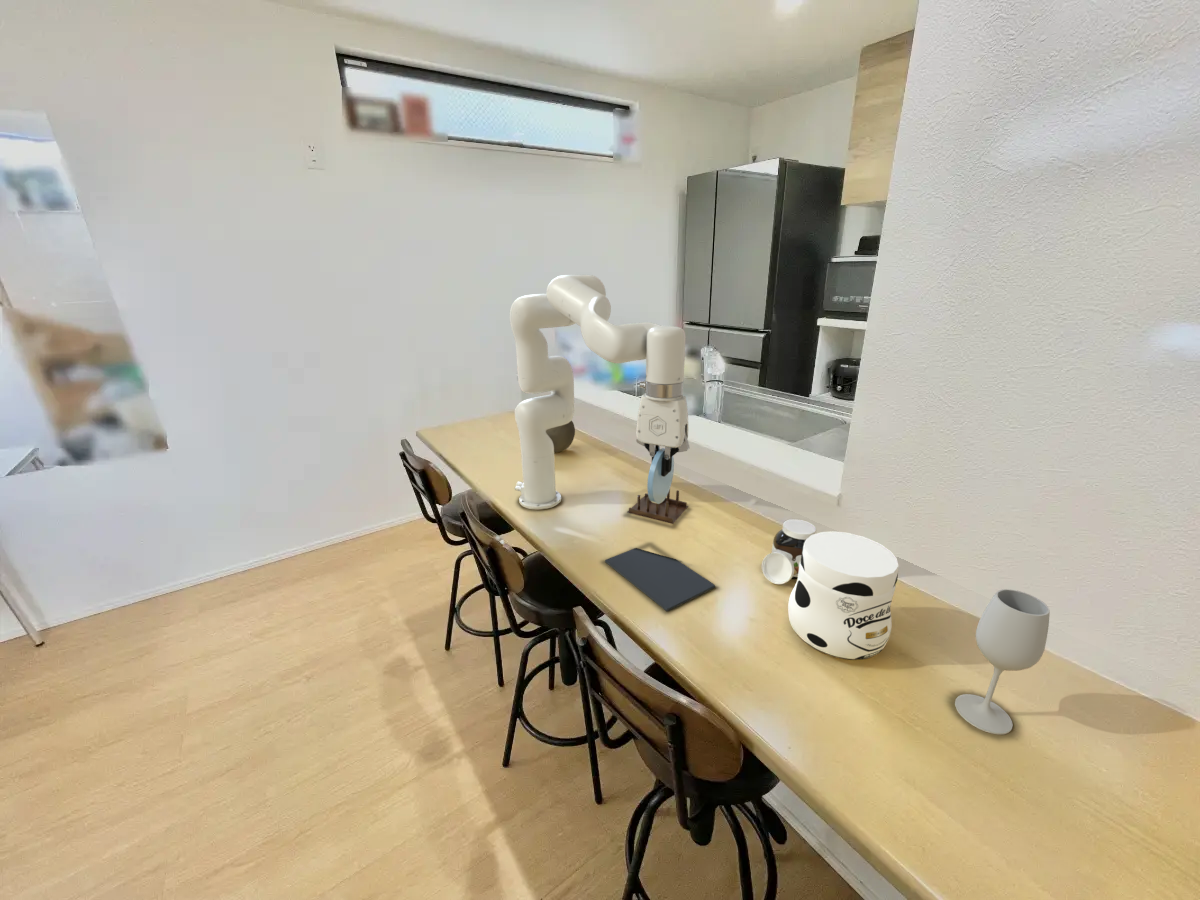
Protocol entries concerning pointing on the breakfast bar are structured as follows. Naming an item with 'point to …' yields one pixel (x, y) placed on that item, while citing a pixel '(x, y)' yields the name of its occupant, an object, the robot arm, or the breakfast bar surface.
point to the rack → (659, 508)
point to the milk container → (844, 595)
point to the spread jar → (787, 551)
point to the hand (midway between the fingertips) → (661, 473)
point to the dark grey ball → (562, 436)
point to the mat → (660, 577)
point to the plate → (659, 479)
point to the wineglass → (1005, 651)
